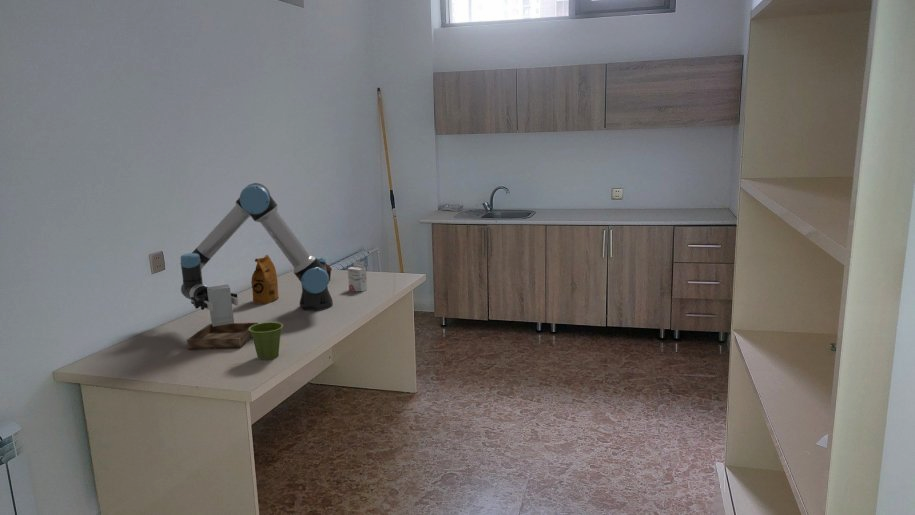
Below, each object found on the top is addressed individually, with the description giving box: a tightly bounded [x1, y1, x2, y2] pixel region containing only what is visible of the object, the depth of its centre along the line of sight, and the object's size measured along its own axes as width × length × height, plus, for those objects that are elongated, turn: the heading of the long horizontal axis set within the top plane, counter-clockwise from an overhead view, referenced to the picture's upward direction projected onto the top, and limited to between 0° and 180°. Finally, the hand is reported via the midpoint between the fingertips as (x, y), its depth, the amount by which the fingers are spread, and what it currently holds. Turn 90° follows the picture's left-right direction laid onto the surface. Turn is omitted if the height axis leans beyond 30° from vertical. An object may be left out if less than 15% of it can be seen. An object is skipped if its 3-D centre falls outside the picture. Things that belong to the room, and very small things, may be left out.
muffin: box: [326, 263, 332, 282], centre depth 332 cm, size 12×11×10 cm
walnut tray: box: [186, 322, 259, 351], centre depth 238 cm, size 20×20×4 cm
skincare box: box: [207, 283, 235, 327], centre depth 236 cm, size 8×6×15 cm
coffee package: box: [251, 254, 279, 305], centre depth 294 cm, size 10×12×22 cm
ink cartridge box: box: [347, 260, 368, 292], centre depth 310 cm, size 9×5×15 cm, turn 58°
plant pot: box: [248, 321, 284, 361], centre depth 218 cm, size 12×12×11 cm
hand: (224, 304), depth 232 cm, fingers closed on skincare box, 9 cm apart
